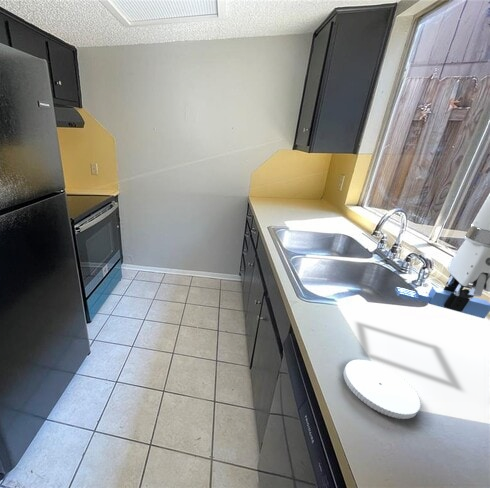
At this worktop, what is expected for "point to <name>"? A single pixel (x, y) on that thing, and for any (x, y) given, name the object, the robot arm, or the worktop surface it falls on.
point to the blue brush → (440, 297)
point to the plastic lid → (381, 389)
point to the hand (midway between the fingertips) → (449, 304)
